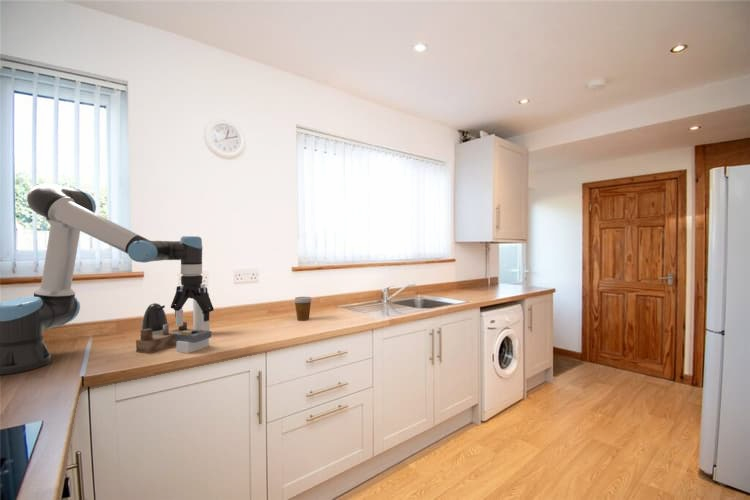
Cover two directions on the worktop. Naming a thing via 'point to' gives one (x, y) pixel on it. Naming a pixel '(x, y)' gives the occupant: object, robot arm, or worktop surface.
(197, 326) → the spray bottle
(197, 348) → the white rectangular block
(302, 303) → the disposable coffee cup
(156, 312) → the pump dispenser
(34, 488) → the worktop surface
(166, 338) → the plane body
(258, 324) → the worktop surface
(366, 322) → the worktop surface
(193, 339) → the lever cap
